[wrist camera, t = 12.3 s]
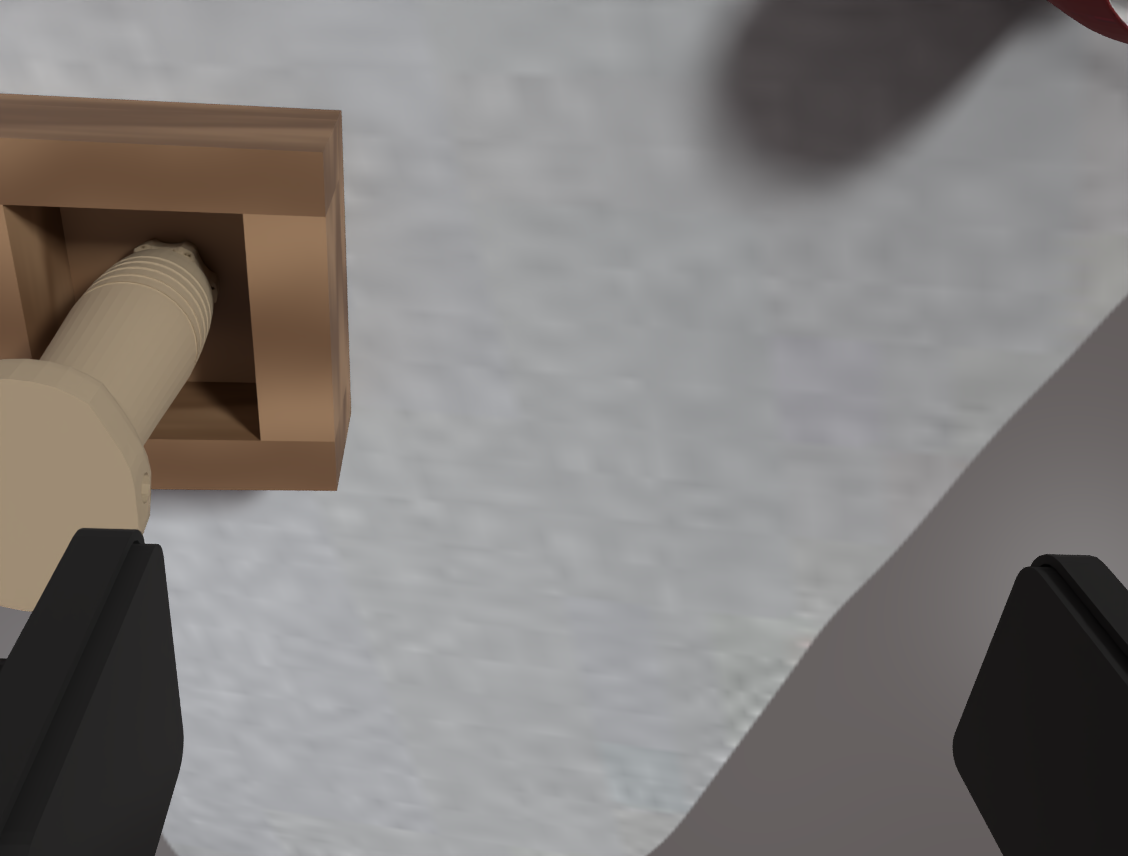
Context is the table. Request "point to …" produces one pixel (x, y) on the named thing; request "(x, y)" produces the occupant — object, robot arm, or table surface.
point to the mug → (1099, 16)
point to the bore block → (226, 246)
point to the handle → (95, 410)
